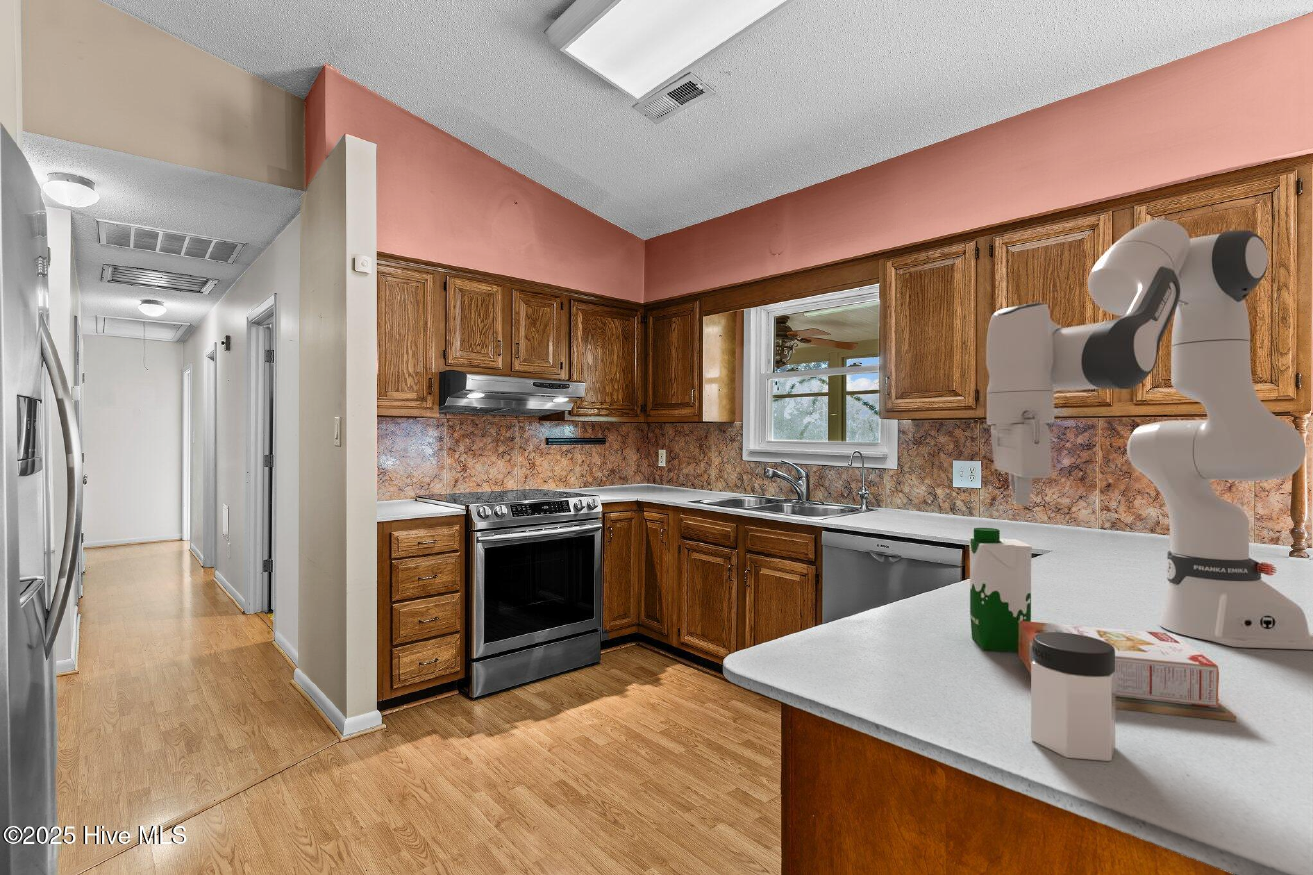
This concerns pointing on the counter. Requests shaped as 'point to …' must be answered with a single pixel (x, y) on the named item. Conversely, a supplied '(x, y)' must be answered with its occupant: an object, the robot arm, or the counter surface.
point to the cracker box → (1143, 663)
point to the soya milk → (998, 589)
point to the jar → (1073, 695)
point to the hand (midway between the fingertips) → (1020, 504)
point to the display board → (1174, 708)
